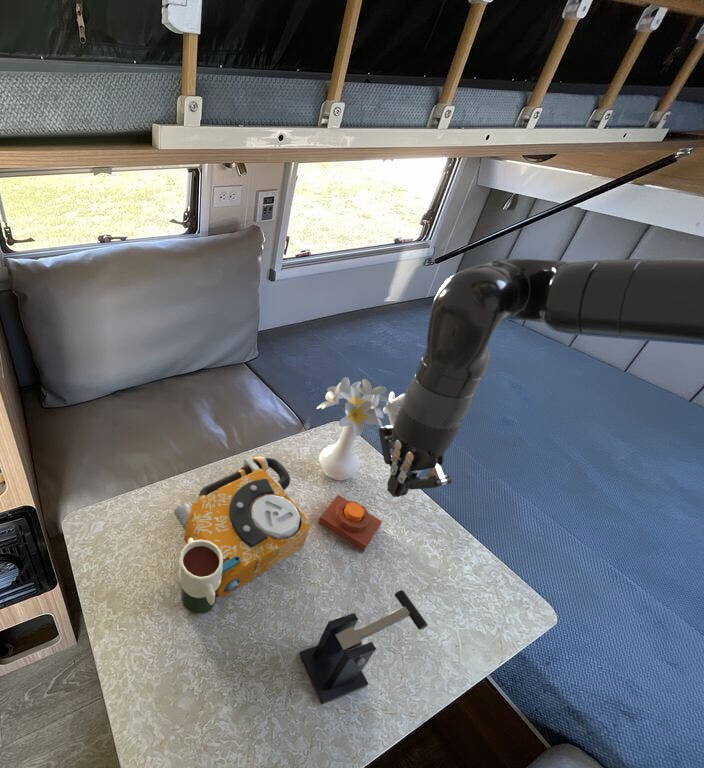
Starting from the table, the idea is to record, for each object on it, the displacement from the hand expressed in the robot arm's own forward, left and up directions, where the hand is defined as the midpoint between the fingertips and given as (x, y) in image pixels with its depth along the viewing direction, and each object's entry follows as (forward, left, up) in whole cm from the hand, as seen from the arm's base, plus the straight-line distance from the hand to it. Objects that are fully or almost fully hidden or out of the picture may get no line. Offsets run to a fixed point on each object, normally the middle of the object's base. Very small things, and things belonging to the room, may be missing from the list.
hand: (394, 492), depth 65 cm
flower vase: (+15, -20, -22) cm, 34 cm away
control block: (+6, -7, -22) cm, 24 cm away
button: (+6, -7, -19) cm, 21 cm away
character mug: (+19, +26, -22) cm, 39 cm away
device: (+22, +8, -22) cm, 32 cm away
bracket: (-4, +20, -22) cm, 30 cm away
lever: (-7, +16, -11) cm, 20 cm away
